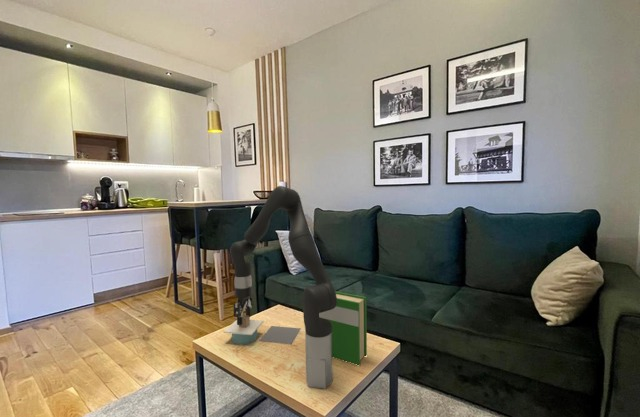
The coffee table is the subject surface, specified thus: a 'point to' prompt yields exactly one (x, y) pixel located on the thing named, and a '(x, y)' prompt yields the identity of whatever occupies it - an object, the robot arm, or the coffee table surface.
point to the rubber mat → (280, 335)
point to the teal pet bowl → (244, 338)
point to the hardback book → (348, 327)
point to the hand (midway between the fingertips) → (244, 320)
